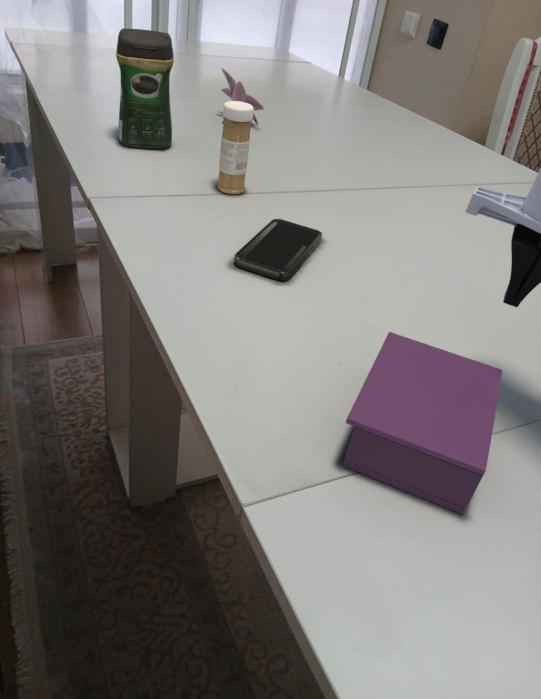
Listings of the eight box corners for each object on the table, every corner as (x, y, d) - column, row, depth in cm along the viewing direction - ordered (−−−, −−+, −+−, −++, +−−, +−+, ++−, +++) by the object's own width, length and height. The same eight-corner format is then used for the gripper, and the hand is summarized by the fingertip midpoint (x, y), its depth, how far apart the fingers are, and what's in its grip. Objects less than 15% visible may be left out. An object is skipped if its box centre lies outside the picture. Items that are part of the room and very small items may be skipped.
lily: (260, 140, 123) (280, 95, 121) (209, 112, 118) (229, 65, 116) (243, 139, 133) (261, 97, 131) (196, 113, 128) (214, 70, 126)
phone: (231, 257, 77) (275, 217, 88) (230, 265, 77) (274, 224, 89) (288, 275, 75) (325, 232, 86) (287, 283, 75) (323, 239, 87)
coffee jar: (170, 137, 114) (174, 29, 102) (172, 152, 107) (176, 38, 96) (118, 133, 111) (116, 22, 100) (117, 148, 105) (114, 31, 94)
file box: (342, 466, 52) (354, 426, 49) (383, 375, 63) (395, 338, 60) (462, 515, 49) (483, 476, 46) (483, 411, 60) (500, 374, 58)
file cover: (345, 423, 49) (347, 418, 49) (387, 336, 60) (389, 331, 60) (483, 476, 46) (485, 470, 46) (500, 374, 58) (503, 369, 57)
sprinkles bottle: (237, 183, 100) (246, 99, 92) (249, 194, 97) (259, 109, 89) (212, 185, 98) (219, 99, 90) (223, 196, 95) (231, 109, 87)
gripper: (666, 179, 51) (586, 307, 60) (499, 129, 54) (446, 257, 63) (675, 209, 46) (586, 344, 54) (490, 152, 49) (433, 288, 57)
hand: (511, 300), depth 58 cm, fingers closed
